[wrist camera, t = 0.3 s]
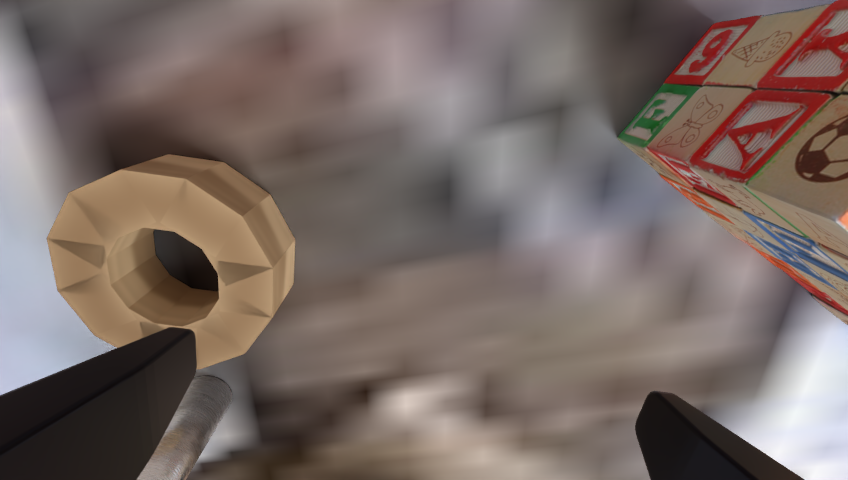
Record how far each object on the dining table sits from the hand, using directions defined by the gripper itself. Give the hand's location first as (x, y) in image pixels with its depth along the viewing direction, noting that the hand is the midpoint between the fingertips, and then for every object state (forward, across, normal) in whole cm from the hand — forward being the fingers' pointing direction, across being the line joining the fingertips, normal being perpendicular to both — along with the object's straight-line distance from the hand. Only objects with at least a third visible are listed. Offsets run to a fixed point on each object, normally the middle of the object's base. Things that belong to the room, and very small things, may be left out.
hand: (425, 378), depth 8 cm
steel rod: (+14, +11, +15) cm, 24 cm away
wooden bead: (+14, +12, +5) cm, 19 cm away
